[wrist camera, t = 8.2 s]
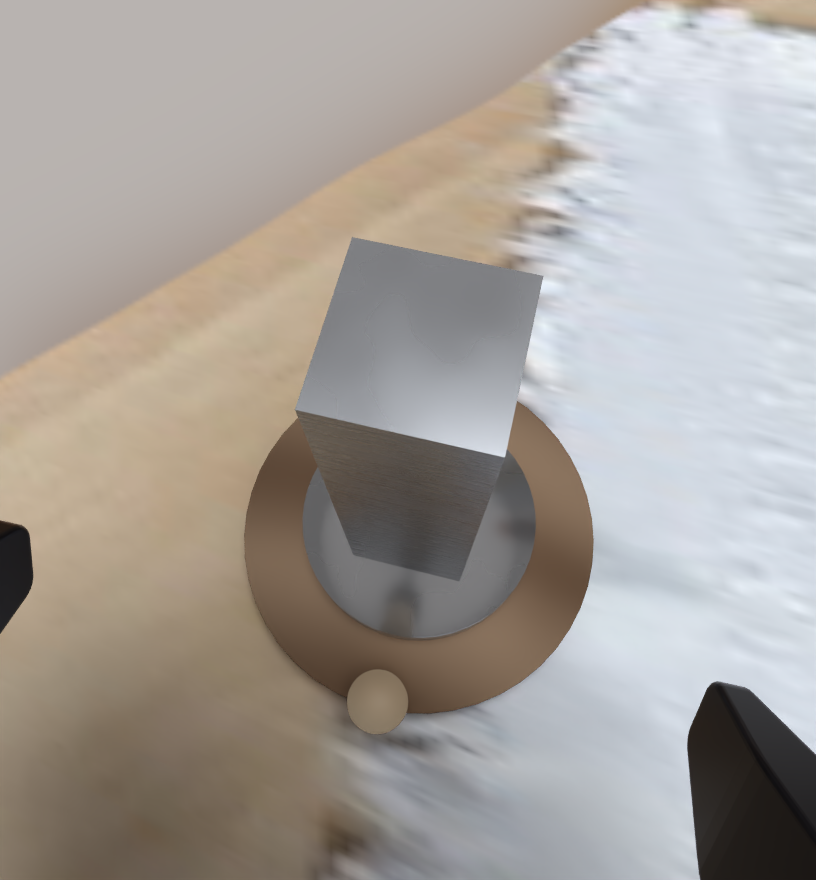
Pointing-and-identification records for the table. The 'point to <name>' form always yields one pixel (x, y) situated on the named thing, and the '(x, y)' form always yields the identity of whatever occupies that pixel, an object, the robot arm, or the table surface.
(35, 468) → the table surface
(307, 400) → the silver block on disc
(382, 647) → the post base
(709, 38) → the table surface
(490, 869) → the table surface
